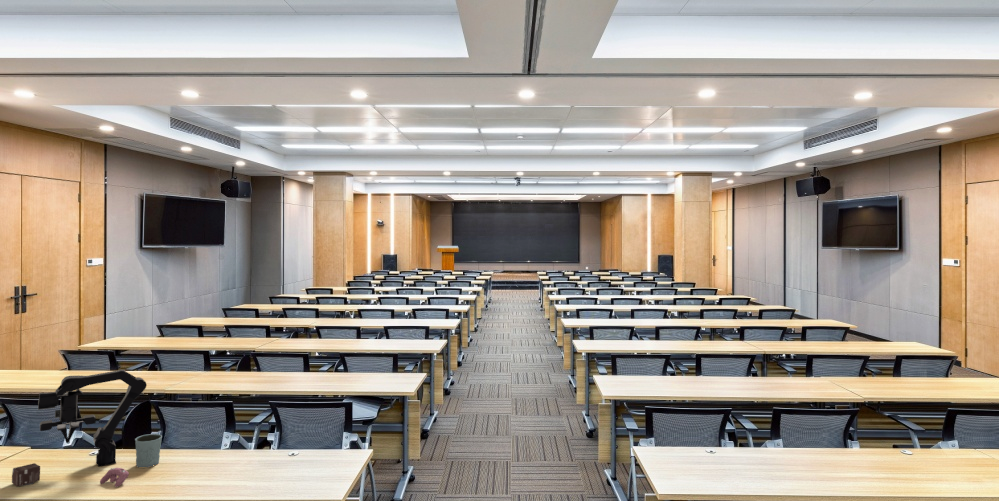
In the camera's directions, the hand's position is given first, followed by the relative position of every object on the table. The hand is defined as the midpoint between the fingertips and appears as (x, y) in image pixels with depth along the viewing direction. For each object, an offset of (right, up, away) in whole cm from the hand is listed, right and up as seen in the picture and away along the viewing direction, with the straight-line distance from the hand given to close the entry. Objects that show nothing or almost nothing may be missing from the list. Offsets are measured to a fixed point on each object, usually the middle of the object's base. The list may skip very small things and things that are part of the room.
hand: (67, 442), depth 237 cm
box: (-4, -8, -10) cm, 14 cm away
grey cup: (+29, -13, +9) cm, 33 cm away
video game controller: (+28, -13, -12) cm, 33 cm away
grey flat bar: (-8, -12, -11) cm, 18 cm away
